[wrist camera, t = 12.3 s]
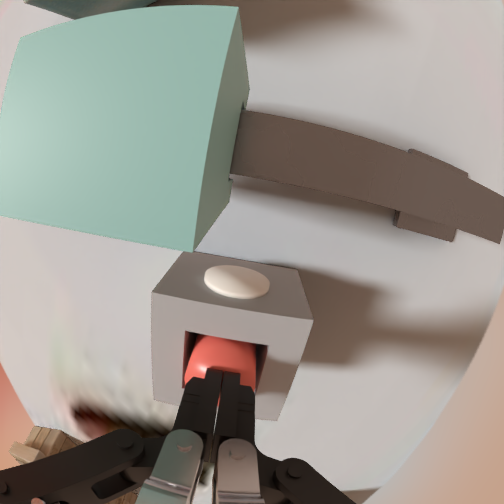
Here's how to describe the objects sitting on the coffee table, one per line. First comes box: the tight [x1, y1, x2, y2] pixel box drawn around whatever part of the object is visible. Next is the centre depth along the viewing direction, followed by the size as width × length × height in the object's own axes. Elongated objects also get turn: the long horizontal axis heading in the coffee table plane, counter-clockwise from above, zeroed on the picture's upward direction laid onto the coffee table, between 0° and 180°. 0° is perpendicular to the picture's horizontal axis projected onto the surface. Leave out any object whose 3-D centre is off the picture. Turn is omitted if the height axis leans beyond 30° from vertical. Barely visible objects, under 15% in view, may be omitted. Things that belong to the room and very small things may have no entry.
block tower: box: [9, 426, 138, 504], centre depth 26 cm, size 8×8×29 cm
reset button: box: [185, 333, 256, 406], centre depth 14 cm, size 3×3×4 cm
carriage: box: [0, 5, 250, 253], centre depth 8 cm, size 5×6×7 cm
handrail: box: [230, 110, 504, 244], centre depth 13 cm, size 5×26×6 cm, turn 80°
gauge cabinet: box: [151, 251, 314, 421], centre depth 16 cm, size 7×7×6 cm
